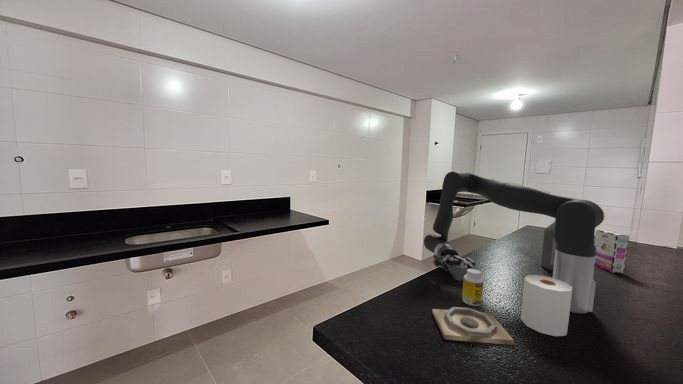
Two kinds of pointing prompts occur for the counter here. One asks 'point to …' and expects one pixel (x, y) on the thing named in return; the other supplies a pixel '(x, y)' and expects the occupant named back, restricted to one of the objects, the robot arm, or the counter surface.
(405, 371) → the counter surface
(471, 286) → the supplement bottle
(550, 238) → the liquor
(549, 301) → the toilet paper
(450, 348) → the counter surface
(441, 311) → the seat plate
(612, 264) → the candy bar box
